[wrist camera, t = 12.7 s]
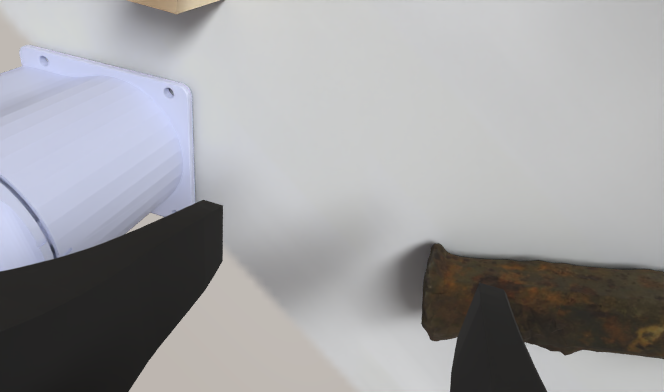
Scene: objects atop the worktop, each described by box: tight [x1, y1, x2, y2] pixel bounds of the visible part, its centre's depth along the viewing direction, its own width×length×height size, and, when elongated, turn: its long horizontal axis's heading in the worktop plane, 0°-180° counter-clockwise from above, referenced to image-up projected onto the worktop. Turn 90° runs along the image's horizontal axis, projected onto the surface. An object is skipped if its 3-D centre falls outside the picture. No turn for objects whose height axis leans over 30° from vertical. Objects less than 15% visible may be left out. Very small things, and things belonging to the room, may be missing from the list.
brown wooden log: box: [421, 244, 664, 359], centre depth 19 cm, size 19×4×5 cm, turn 96°
